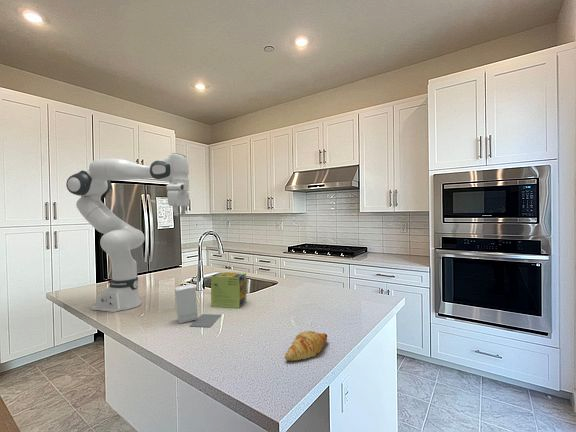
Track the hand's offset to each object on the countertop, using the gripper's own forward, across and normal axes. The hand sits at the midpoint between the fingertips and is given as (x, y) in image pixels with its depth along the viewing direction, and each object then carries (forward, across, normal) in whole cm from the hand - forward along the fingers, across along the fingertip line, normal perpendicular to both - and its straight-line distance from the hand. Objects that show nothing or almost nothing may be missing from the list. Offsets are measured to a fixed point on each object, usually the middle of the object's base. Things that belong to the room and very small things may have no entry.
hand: (179, 215), depth 147 cm
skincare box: (+46, +16, +8) cm, 49 cm away
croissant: (+46, +45, +59) cm, 87 cm away
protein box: (+46, -6, +23) cm, 52 cm away
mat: (+46, +16, +17) cm, 51 cm away
